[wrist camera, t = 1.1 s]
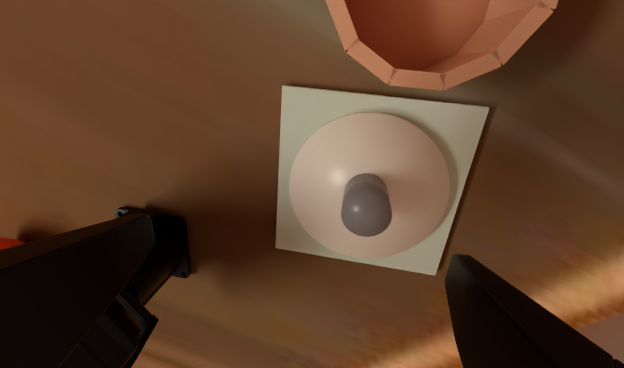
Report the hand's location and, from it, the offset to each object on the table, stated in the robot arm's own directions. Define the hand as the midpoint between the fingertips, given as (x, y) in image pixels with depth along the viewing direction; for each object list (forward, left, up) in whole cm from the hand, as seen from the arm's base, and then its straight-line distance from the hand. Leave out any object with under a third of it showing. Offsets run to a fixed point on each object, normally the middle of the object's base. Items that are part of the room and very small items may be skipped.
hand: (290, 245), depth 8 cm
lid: (-3, -3, -13) cm, 13 cm away
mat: (-3, -3, -13) cm, 14 cm away
